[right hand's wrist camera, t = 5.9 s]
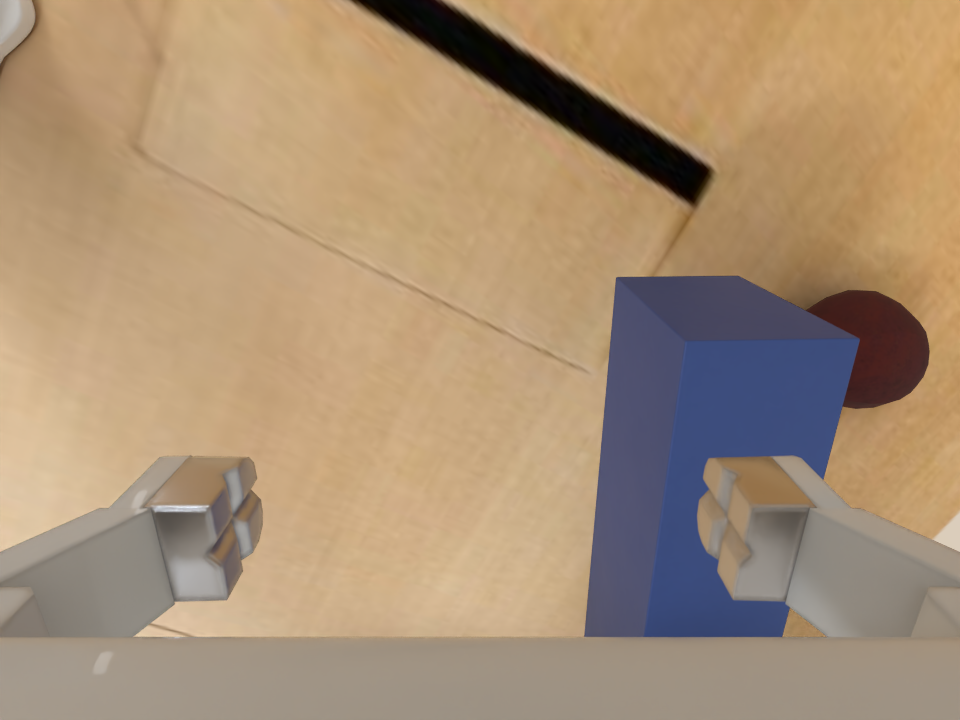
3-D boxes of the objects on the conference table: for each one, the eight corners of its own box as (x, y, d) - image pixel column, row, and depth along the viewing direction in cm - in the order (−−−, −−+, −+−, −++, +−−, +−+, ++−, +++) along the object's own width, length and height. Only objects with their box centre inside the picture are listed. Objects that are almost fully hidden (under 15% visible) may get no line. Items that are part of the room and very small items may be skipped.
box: (615, 276, 28) (685, 341, 20) (738, 275, 28) (861, 338, 20) (580, 673, 38) (616, 831, 30) (671, 670, 39) (733, 826, 30)
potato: (864, 377, 41) (940, 425, 34) (757, 381, 41) (813, 430, 34) (889, 276, 38) (978, 307, 32) (774, 280, 38) (840, 312, 31)
